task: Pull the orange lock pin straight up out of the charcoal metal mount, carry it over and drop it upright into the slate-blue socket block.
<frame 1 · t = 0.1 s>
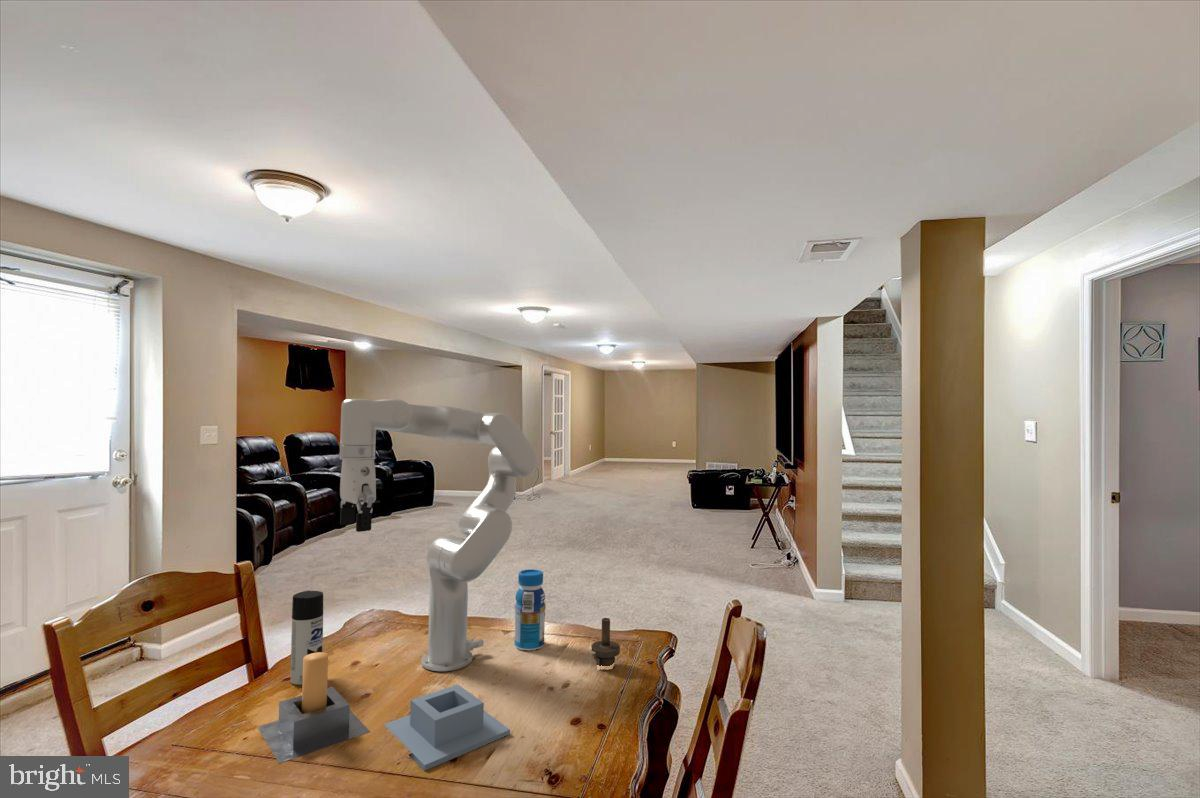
hand: (355, 527, 134), 37 cm above the table, tool pointing down, fingers open, 9 cm apart
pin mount: (313, 734, 114), on the table
beverage bottle: (529, 646, 160), on the table
socket block: (446, 732, 116), on the table
industrial component: (602, 668, 147), on the table
lock pin: (313, 729, 114), point 1 cm above the table, touching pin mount
spray can: (305, 680, 138), on the table
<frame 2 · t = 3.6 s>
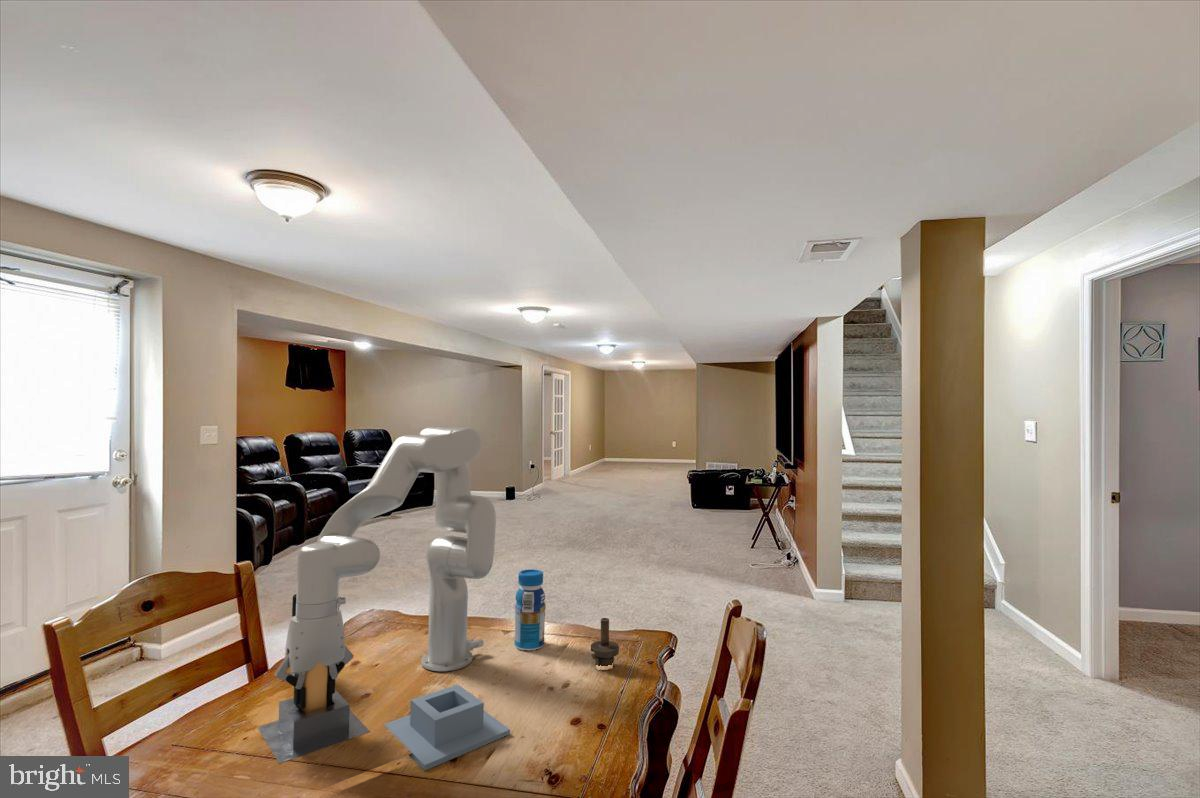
hand: (314, 701, 115), 6 cm above the table, tool pointing down, fingers closed on lock pin, 4 cm apart
lock pin: (313, 729, 114), point 1 cm above the table, touching gripper, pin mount
everything else where it was.
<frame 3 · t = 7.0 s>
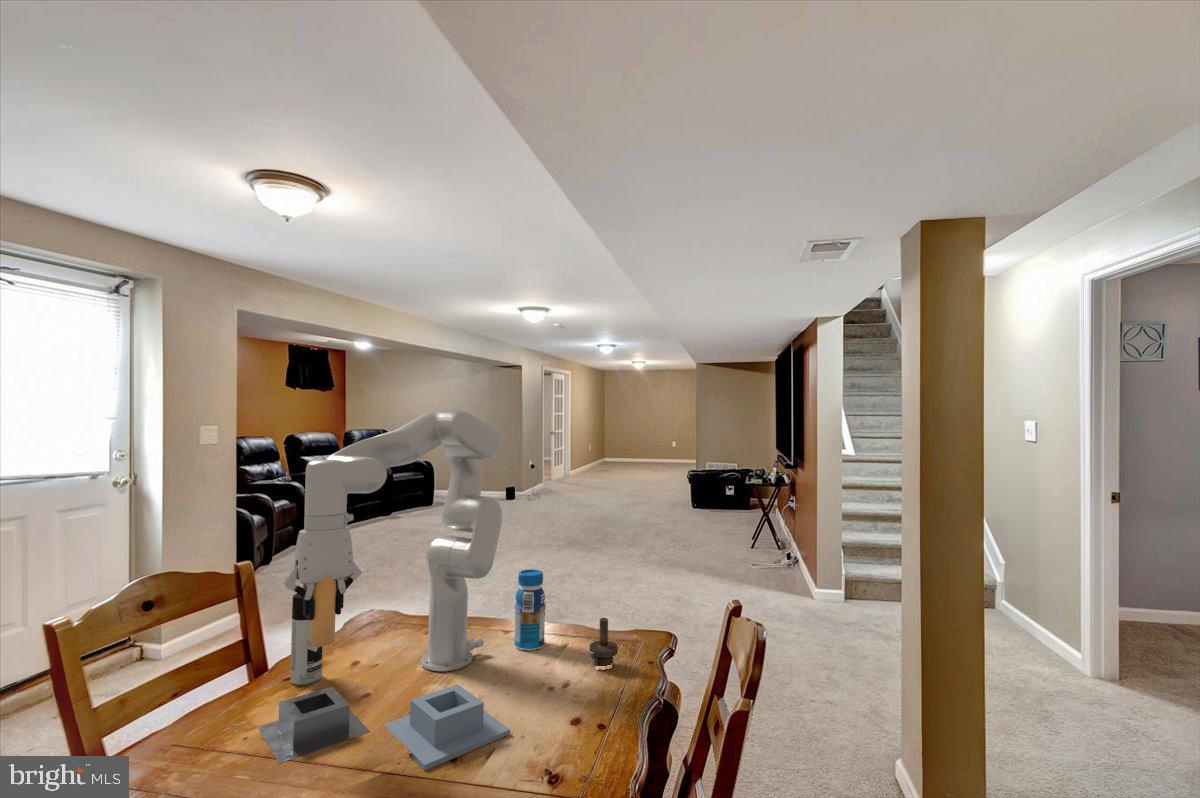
hand: (323, 614, 115), 23 cm above the table, tool pointing down, fingers closed on lock pin, 4 cm apart
lock pin: (322, 642, 115), point 18 cm above the table, touching gripper
everything else where it was.
when the fingers open (8 cm above the table, at t = 10.7 s): lock pin drops 1 cm, resting on socket block.
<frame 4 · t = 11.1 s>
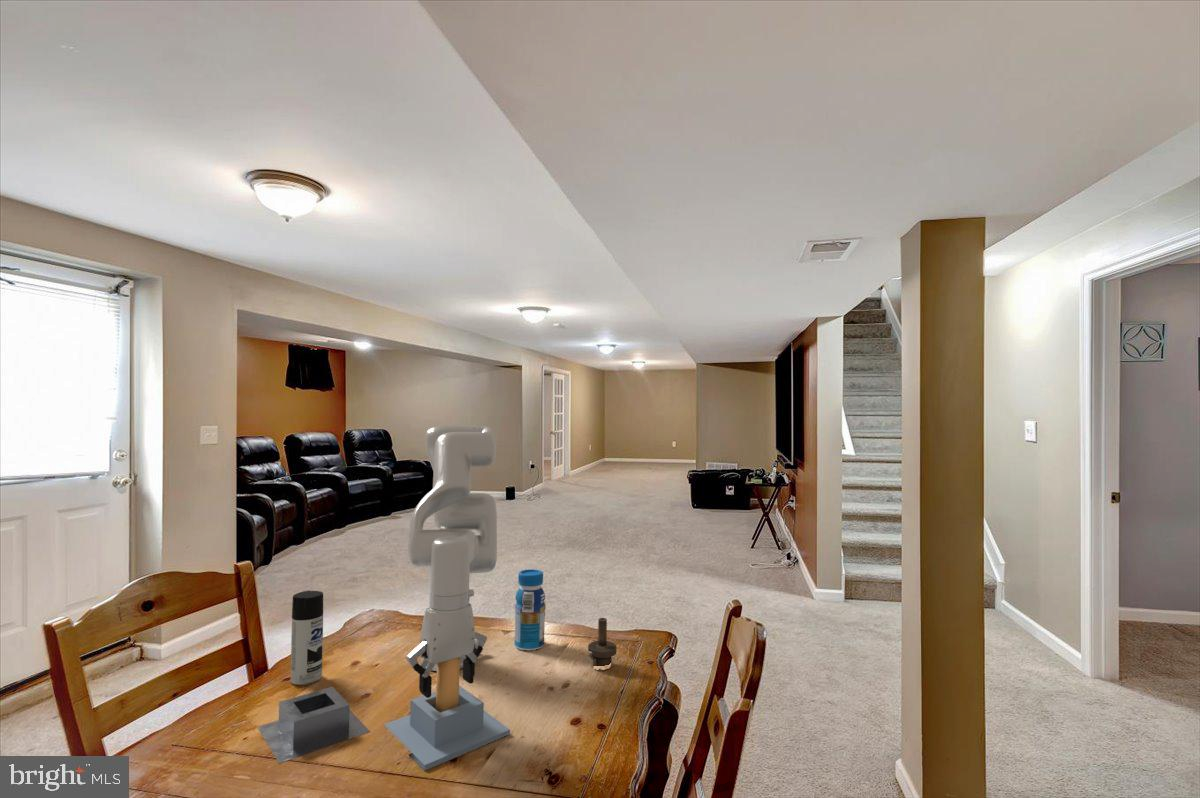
hand: (447, 687, 116), 9 cm above the table, tool pointing down, fingers open, 8 cm apart
lock pin: (446, 726, 116), point 1 cm above the table, touching socket block
everything else where it was.
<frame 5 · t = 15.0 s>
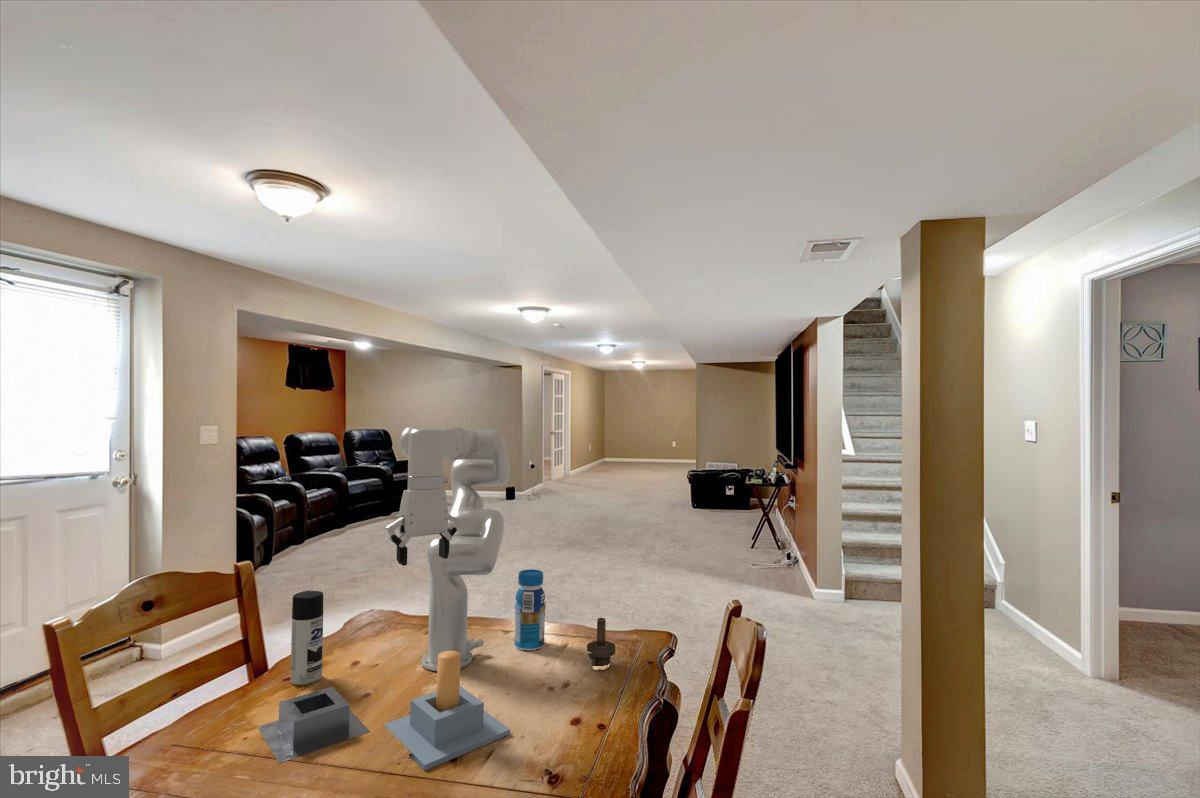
hand: (423, 560, 130), 30 cm above the table, tool pointing down, fingers open, 9 cm apart
at the end: lock pin 0.0 cm off-centre on the socket block, point 1.0 cm above the socket block's base; lock pin tilted 1°; the gripper is holding nothing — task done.
